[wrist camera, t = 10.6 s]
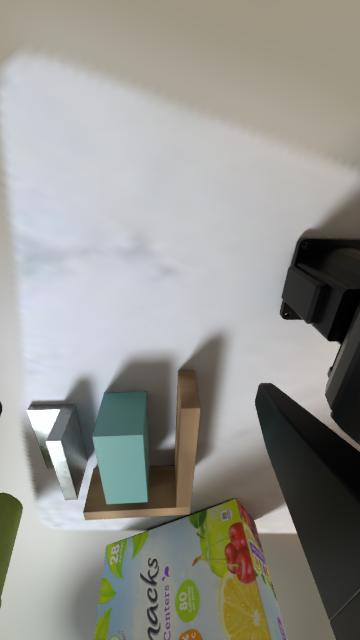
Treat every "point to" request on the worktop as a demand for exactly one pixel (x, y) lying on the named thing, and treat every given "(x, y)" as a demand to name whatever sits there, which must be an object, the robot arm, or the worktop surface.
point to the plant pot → (7, 531)
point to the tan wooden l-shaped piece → (160, 468)
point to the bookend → (61, 444)
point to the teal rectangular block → (123, 447)
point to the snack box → (190, 582)
